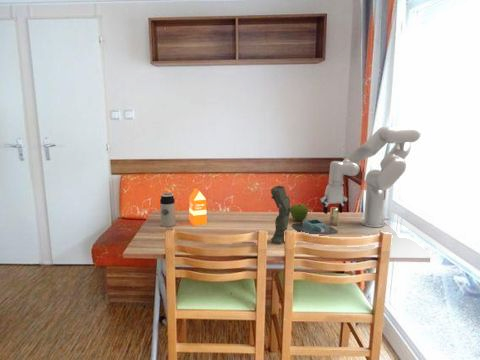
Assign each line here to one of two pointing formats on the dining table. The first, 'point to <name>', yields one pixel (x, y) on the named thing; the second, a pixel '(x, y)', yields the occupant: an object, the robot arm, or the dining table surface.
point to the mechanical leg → (280, 213)
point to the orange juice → (197, 208)
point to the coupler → (334, 216)
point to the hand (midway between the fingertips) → (332, 212)
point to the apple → (299, 212)
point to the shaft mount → (314, 227)
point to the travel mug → (167, 209)
